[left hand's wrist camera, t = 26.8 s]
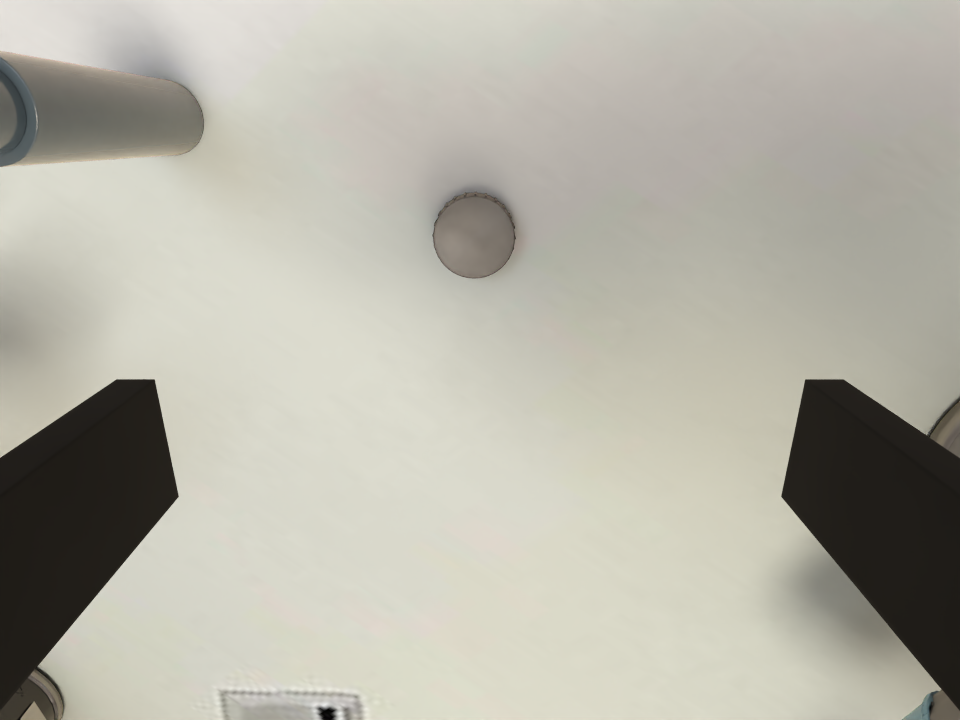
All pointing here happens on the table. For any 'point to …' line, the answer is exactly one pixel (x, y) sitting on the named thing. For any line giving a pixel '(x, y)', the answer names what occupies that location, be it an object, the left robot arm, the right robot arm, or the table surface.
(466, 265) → the lid
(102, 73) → the blue-grey bottle
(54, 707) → the right robot arm
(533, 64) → the table surface
